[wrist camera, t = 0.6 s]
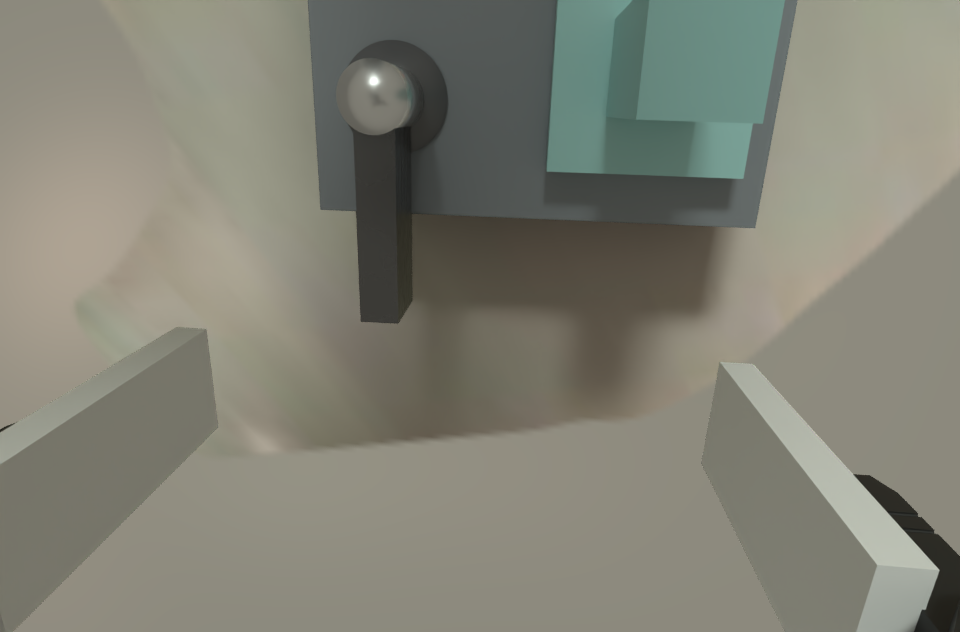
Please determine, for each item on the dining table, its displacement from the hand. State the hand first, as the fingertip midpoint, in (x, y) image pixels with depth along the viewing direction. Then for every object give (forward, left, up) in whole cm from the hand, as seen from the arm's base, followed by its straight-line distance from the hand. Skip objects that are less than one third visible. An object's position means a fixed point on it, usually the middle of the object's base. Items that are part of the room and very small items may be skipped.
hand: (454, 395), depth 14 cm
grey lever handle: (-3, -5, -17) cm, 18 cm away
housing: (-8, +2, -23) cm, 25 cm away
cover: (-8, +7, -17) cm, 20 cm away
